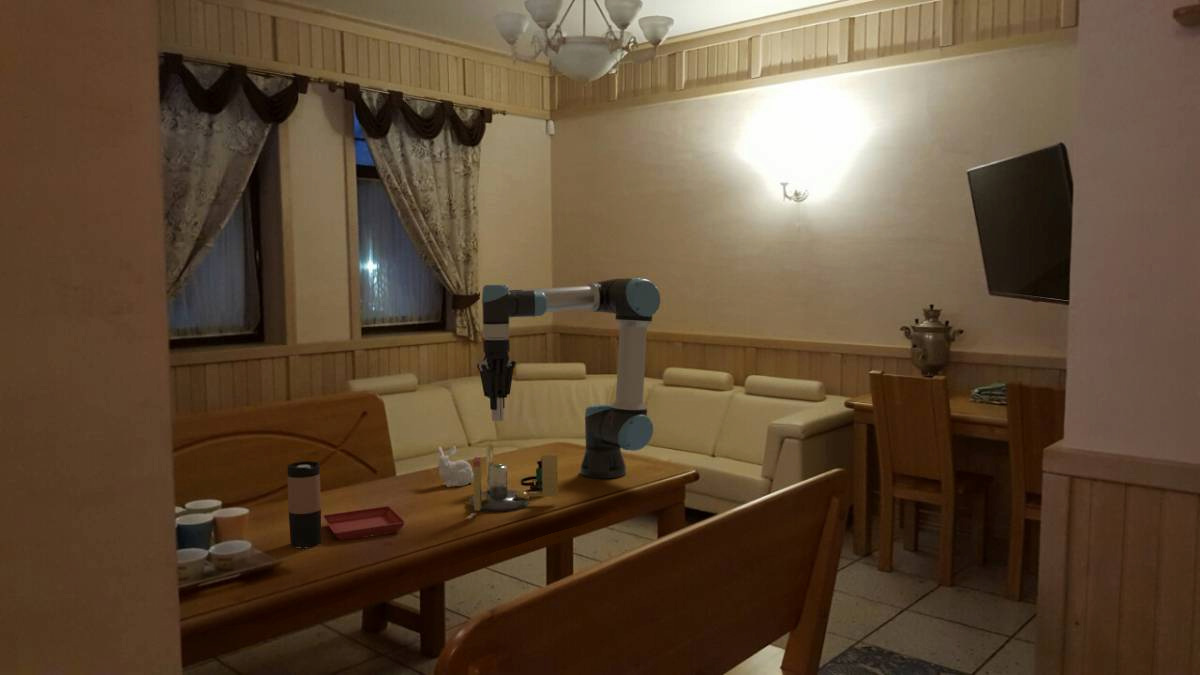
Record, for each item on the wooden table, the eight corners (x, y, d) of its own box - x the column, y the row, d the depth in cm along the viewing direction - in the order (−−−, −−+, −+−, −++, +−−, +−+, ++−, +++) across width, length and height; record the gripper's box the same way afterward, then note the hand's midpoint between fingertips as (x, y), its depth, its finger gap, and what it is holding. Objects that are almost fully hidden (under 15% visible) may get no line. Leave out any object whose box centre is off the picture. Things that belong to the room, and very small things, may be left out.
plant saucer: (334, 545, 217) (334, 531, 217) (321, 526, 233) (321, 514, 233) (406, 534, 225) (406, 521, 225) (389, 517, 241) (389, 505, 241)
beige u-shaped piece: (474, 499, 249) (473, 451, 248) (488, 499, 250) (487, 451, 249) (469, 511, 237) (468, 461, 236) (484, 510, 237) (483, 460, 236)
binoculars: (522, 457, 270) (553, 455, 268) (526, 491, 271) (557, 489, 269) (514, 463, 262) (546, 461, 260) (518, 498, 262) (550, 496, 260)
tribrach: (570, 494, 263) (569, 447, 261) (533, 524, 232) (532, 470, 231) (488, 489, 270) (487, 443, 269) (442, 517, 239) (441, 465, 238)
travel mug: (294, 539, 220) (291, 461, 219) (325, 538, 221) (322, 460, 219) (286, 549, 212) (283, 468, 211) (318, 548, 213) (315, 467, 212)
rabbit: (440, 489, 271) (439, 450, 270) (434, 482, 280) (433, 445, 279) (478, 485, 276) (478, 447, 275) (471, 478, 284) (470, 442, 283)
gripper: (504, 336, 257) (506, 416, 259) (469, 339, 247) (471, 422, 248) (522, 337, 252) (523, 418, 254) (487, 340, 242) (488, 425, 244)
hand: (497, 420), depth 251 cm, fingers closed
